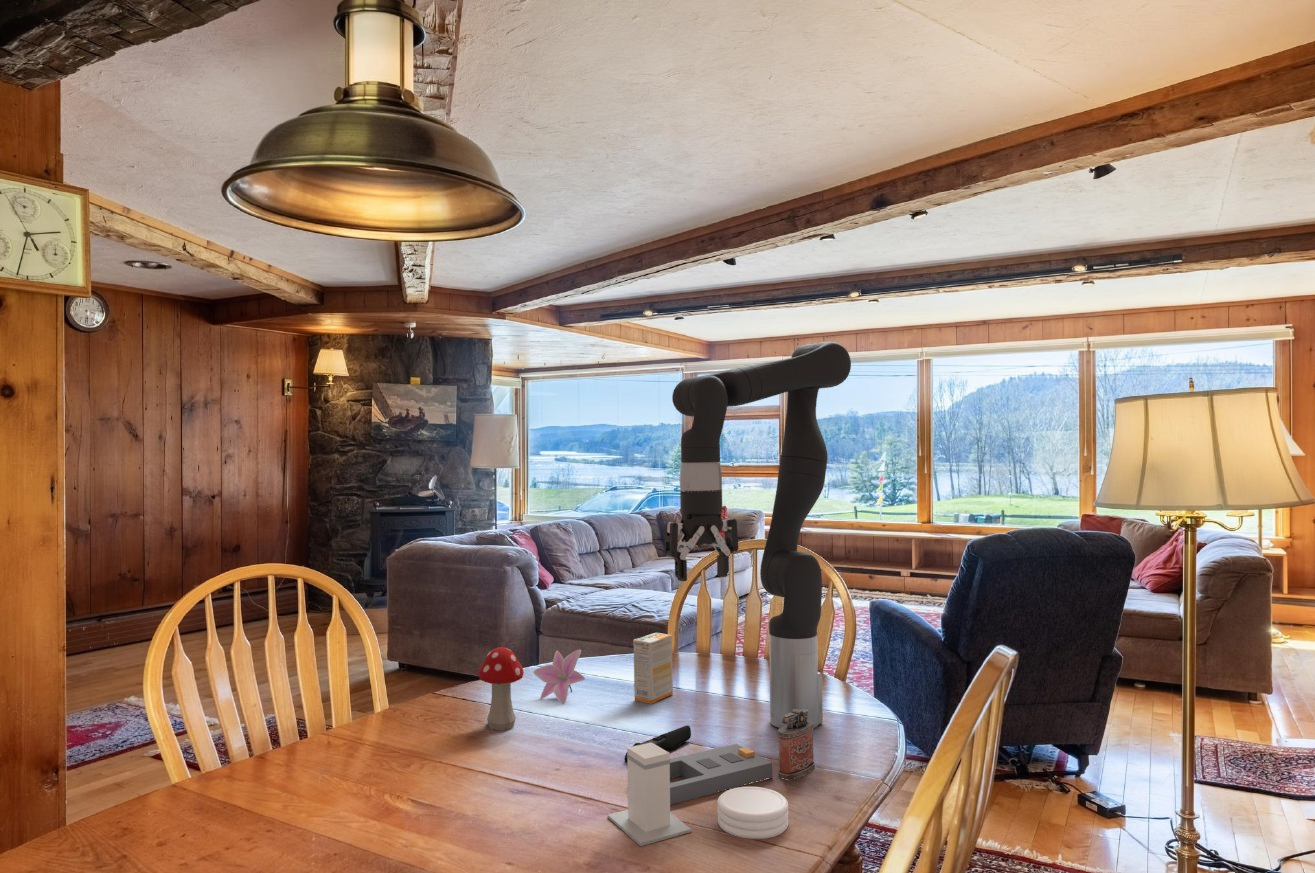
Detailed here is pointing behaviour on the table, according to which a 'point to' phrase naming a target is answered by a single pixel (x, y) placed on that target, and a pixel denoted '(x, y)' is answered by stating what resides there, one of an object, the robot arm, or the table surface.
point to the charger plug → (648, 786)
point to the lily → (560, 675)
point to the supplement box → (653, 667)
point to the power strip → (716, 771)
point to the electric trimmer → (669, 739)
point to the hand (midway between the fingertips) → (702, 578)
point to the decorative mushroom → (501, 685)
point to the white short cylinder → (752, 812)
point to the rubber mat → (650, 836)
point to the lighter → (796, 745)
